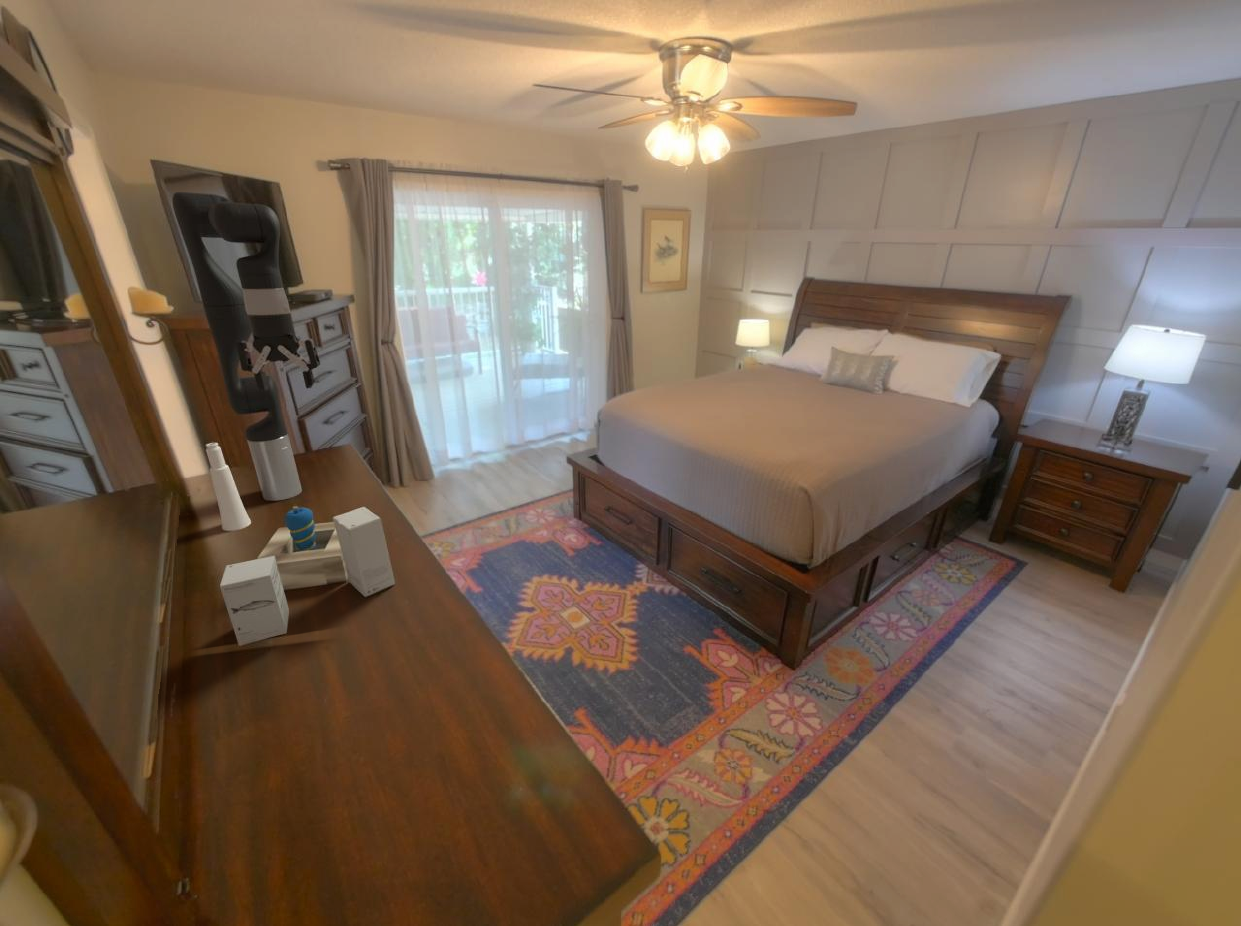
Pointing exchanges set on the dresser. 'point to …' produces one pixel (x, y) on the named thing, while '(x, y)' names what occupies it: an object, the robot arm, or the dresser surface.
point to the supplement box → (255, 599)
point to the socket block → (307, 558)
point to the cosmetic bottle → (226, 491)
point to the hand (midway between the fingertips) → (287, 388)
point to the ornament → (301, 528)
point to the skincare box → (364, 550)
